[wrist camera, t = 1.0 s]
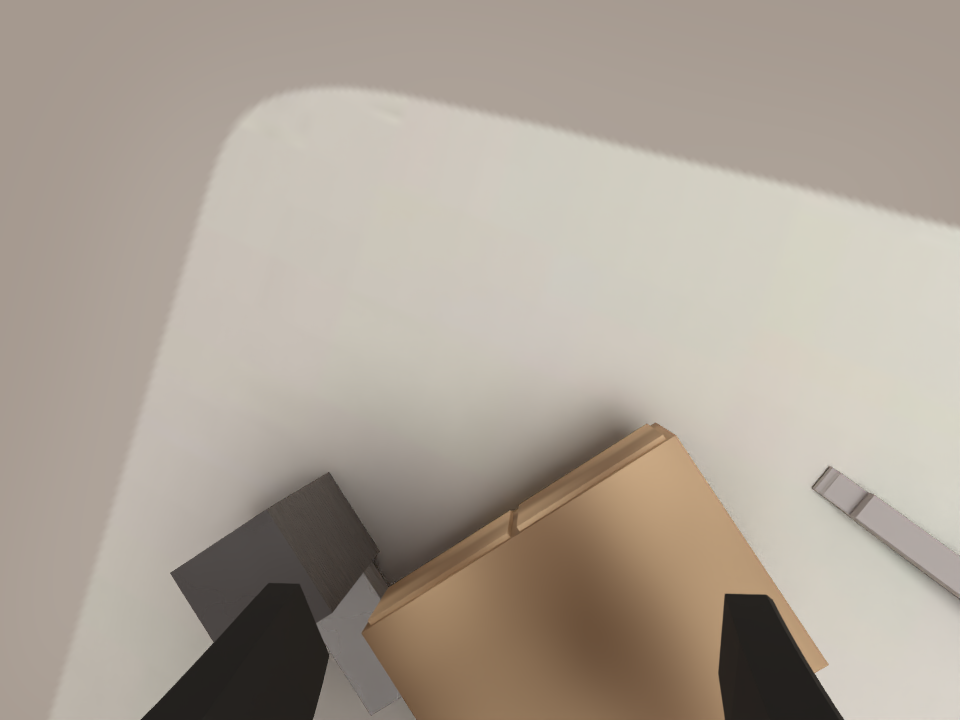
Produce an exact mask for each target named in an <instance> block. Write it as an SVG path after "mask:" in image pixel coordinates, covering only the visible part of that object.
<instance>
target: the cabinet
mask: <svg viewBox="0 0 960 720" xmlns="http://www.w3.org/2000/svg"><path fill="white" fill-rule="evenodd" d="M725 594H765V595H768V596H769V597H770V598H771V599H773V601H774V603H775V605H776V607H777V609H778V611H779V613H780V614H781V616H782V618H783V620H784V622H785V624H786V626H787V627H788V629H789V631H790V633H791V635H792V636H793V638H794V640H795V642H796V643H797V645H798V647H799V648H800V650H801V652H802V654H803V655H804V657H805V659H806V660H807V662H808V664H809V665H810V667H811V669H812V670H813V672H814V673H816V672H818V671H819V670H821V669H823V668H824V667H826V666H828V665H829V664H828V663H827V661H826V660H825V658H824V657H823V655H822V654H821V652H820V651H819V649H818V648H817V646H816V645H815V643H814V642H813V640H812V639H811V637H810V636H809V634H808V633H807V631H806V630H805V628H804V627H803V625H802V624H801V622H800V621H799V619H798V618H797V616H796V615H795V613H794V612H793V610H792V609H791V607H790V606H789V604H788V603H787V601H786V600H785V598H784V597H783V595H782V594H781V592H780V591H779V589H778V588H777V586H776V585H775V583H774V582H773V580H772V579H771V577H770V576H769V574H768V573H767V571H766V570H765V568H764V567H763V565H762V564H761V562H760V561H759V559H758V558H757V556H756V555H755V553H754V552H753V550H752V549H751V547H750V546H749V544H748V543H747V541H746V540H745V538H744V537H743V535H742V534H741V532H740V531H739V529H738V528H737V526H736V525H735V523H734V522H733V520H732V519H731V517H730V516H729V514H728V513H727V511H726V510H725V508H724V507H723V505H722V504H721V502H720V501H719V499H718V498H717V496H716V495H715V493H714V492H713V490H712V489H711V487H710V486H709V484H708V483H707V481H706V480H705V478H704V477H703V475H702V474H701V472H700V471H699V469H698V468H697V466H696V465H695V463H694V462H693V460H692V459H691V457H690V456H689V454H688V453H687V451H686V450H685V448H684V447H683V445H682V444H681V442H680V441H679V439H678V438H677V436H676V435H675V434H673V433H672V432H670V431H668V430H667V429H665V428H663V427H662V426H660V425H659V424H657V423H654V424H652V425H651V426H650V425H648V424H646V425H644V426H642V427H641V428H639V429H638V430H636V431H634V432H633V433H631V434H630V435H628V436H627V437H625V438H623V439H622V440H620V441H619V442H617V443H616V444H614V445H612V446H611V447H609V448H608V449H606V450H605V451H603V452H601V453H600V454H598V455H597V456H595V457H593V458H592V459H590V460H589V461H587V462H586V463H584V464H582V465H581V466H579V467H578V468H576V469H575V470H573V471H571V472H570V473H568V474H567V475H565V476H563V477H562V478H560V479H559V480H557V481H556V482H554V483H552V484H551V485H549V486H548V487H546V488H545V489H543V490H541V491H540V492H538V493H537V494H535V495H534V496H532V497H530V498H529V499H527V500H526V501H524V502H522V503H521V504H519V508H518V510H517V511H515V512H513V513H512V511H511V510H510V511H508V512H507V513H505V514H504V515H502V516H500V517H499V518H497V519H496V520H494V521H493V522H491V523H489V524H488V525H486V526H485V527H483V528H481V529H480V530H478V531H477V532H475V533H474V534H472V535H470V536H469V537H467V538H466V539H464V540H463V541H461V542H459V543H458V544H456V545H455V546H453V547H452V548H450V549H448V550H447V551H445V552H444V553H442V554H440V555H439V556H437V557H436V558H434V559H433V560H431V561H429V562H428V563H426V564H425V565H423V566H422V567H420V568H418V569H417V570H415V571H414V572H412V573H410V574H409V575H407V576H406V577H404V578H403V579H401V580H399V581H398V582H396V583H395V584H393V585H392V586H390V587H388V589H387V590H386V592H385V593H384V595H383V597H382V598H381V600H380V602H379V603H378V605H377V606H376V608H375V610H374V611H373V613H372V615H371V616H370V618H369V619H368V623H367V625H366V626H365V628H364V630H363V631H362V635H363V637H364V638H365V640H366V641H367V643H368V644H369V646H370V648H371V649H372V651H373V652H374V654H375V655H376V657H377V659H378V660H379V662H380V663H381V665H382V666H383V668H384V670H385V671H386V673H387V674H388V676H389V677H390V679H391V680H392V682H393V684H394V685H395V687H396V688H397V690H398V691H399V693H400V695H401V696H402V698H403V699H404V701H405V702H406V704H407V706H408V707H409V709H410V710H411V712H412V713H413V715H414V716H415V718H416V720H725V717H724V710H723V703H722V696H721V689H720V682H719V676H718V669H719V657H720V645H721V633H722V621H723V608H724V596H725Z"/></svg>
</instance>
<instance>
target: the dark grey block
mask: <svg viewBox="0 0 960 720" xmlns="http://www.w3.org/2000/svg"><path fill="white" fill-rule="evenodd" d="M379 552H380V551H379V549H378V548H377V546H376V545H375V543H374V541H373V540H372V538H371V537H370V535H369V534H368V532H367V531H366V529H365V527H364V526H363V524H362V523H361V521H360V520H359V518H358V517H357V515H356V513H355V512H354V510H353V509H352V507H351V506H350V504H349V503H348V501H347V499H346V498H345V496H344V495H343V493H342V492H341V490H340V489H339V487H338V485H337V484H336V482H335V481H334V479H333V478H332V476H331V475H330V473H329V472H328V473H327V474H325V475H323V476H322V477H320V478H318V479H317V480H315V481H313V482H312V483H310V484H308V485H307V486H305V487H303V488H302V489H300V490H298V491H297V492H295V493H293V494H292V495H290V496H288V497H287V498H285V499H283V500H281V501H280V502H278V503H276V504H275V505H273V506H271V507H270V508H268V509H266V510H265V511H263V512H262V513H260V514H259V515H257V516H256V517H254V518H253V519H251V520H250V521H248V522H247V523H245V524H244V525H242V526H241V527H239V528H238V529H236V530H235V531H233V532H232V533H230V534H229V535H227V536H226V537H224V538H222V539H221V540H219V541H218V542H216V543H215V544H213V545H212V546H210V547H209V548H207V549H206V550H204V551H203V552H201V553H200V554H198V555H197V556H195V557H194V558H192V559H191V560H189V561H188V562H186V563H185V564H183V565H182V566H180V567H178V568H177V569H175V570H174V571H172V572H171V573H170V574H171V575H172V577H173V578H174V580H175V582H176V583H177V585H178V586H179V588H180V589H181V591H182V593H183V594H184V596H185V597H186V599H187V601H188V602H189V604H190V605H191V607H192V609H193V610H194V612H195V613H196V615H197V617H198V618H199V620H200V621H201V623H202V624H203V626H204V628H205V629H206V631H207V632H208V634H209V636H210V637H211V639H212V640H213V642H215V641H216V640H217V639H218V637H219V636H220V635H221V634H222V633H223V632H224V631H225V630H226V629H227V628H228V626H229V625H230V624H231V623H232V622H233V621H234V620H235V619H236V618H237V617H238V615H239V614H240V613H241V612H242V611H243V610H244V609H245V608H246V607H247V606H248V604H249V603H250V602H251V601H252V600H253V599H254V598H255V597H256V596H257V595H258V594H259V593H260V592H261V591H262V589H263V588H264V587H265V586H266V585H267V584H268V583H292V584H300V586H301V588H302V591H303V593H304V595H305V598H306V600H307V603H308V605H309V608H310V610H311V612H312V615H313V617H314V620H315V622H316V624H317V627H318V629H319V632H320V634H321V636H322V639H323V641H324V643H325V644H326V646H327V647H328V649H329V651H330V652H331V654H332V655H333V657H334V658H335V660H336V662H337V663H338V665H339V666H340V668H341V669H342V671H343V673H344V674H345V676H346V677H347V679H348V680H349V682H350V684H351V685H352V687H353V688H354V690H355V691H356V693H357V695H358V696H359V698H360V699H361V701H362V702H363V704H364V706H365V707H366V709H367V710H368V712H369V713H370V715H373V714H374V713H376V712H377V711H379V710H381V709H382V708H384V707H386V706H387V705H389V704H390V703H392V702H394V701H395V700H397V699H399V698H400V697H402V696H401V695H400V693H399V691H398V690H397V688H396V687H395V685H394V684H393V682H392V680H391V679H390V677H389V676H388V674H387V673H386V671H385V670H384V668H383V666H382V665H381V663H380V662H379V660H378V659H377V657H376V655H375V654H374V652H373V651H372V649H371V648H370V646H369V644H368V643H367V641H366V640H365V638H364V637H363V635H362V631H363V630H364V628H365V626H366V625H367V623H368V619H369V618H370V616H371V615H372V613H373V611H374V610H375V608H376V606H377V605H378V603H379V602H380V600H381V598H382V597H383V595H384V593H385V592H386V590H387V589H388V585H387V583H386V582H385V580H384V579H383V577H382V576H381V574H380V573H379V571H378V569H377V568H376V566H375V565H374V563H373V562H372V561H373V559H374V558H375V557H376V556H377V554H378V553H379Z"/></svg>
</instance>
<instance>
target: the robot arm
mask: <svg viewBox="0 0 960 720" xmlns="http://www.w3.org/2000/svg"><path fill="white" fill-rule="evenodd" d="M328 659H329V653H328V651H327V648H326V646H325V644H324V641H323V639H322V636H321V634H320V632H319V629H318V627H317V624H316V622H315V620H314V617H313V615H312V612H311V610H310V608H309V605H308V603H307V600H306V598H305V595H304V593H303V591H302V588H301V586H300V584H292V583H268V584H267V585H266V586H265V587H264V588H263V589H262V591H261V592H260V593H259V594H258V595H257V596H256V597H255V598H254V599H253V600H252V601H251V602H250V603H249V604H248V606H247V607H246V608H245V609H244V610H243V611H242V612H241V613H240V614H239V615H238V617H237V618H236V619H235V620H234V621H233V622H232V623H231V624H230V625H229V626H228V628H227V629H226V630H225V631H224V632H223V633H222V634H221V635H220V636H219V637H218V639H217V640H216V641H215V642H214V643H213V644H212V645H211V646H210V647H209V648H208V650H207V651H206V652H205V653H204V654H203V655H202V656H201V657H200V658H199V659H198V660H197V661H196V662H195V664H194V665H193V666H192V667H191V668H190V669H189V670H188V671H187V672H186V673H185V674H184V675H183V676H182V677H181V678H180V680H179V681H178V682H177V683H176V684H175V685H174V686H173V687H172V688H171V689H170V690H169V691H168V692H167V693H166V694H165V696H164V697H163V698H162V699H161V700H160V701H159V702H158V703H157V704H156V705H155V706H154V707H153V708H152V709H151V710H150V711H149V712H148V713H147V714H146V715H145V716H144V717H143V718H142V719H141V720H313V717H314V714H315V710H316V707H317V703H318V699H319V695H320V692H321V688H322V684H323V679H324V675H325V671H326V667H327V663H328ZM718 676H719V682H720V689H721V696H722V703H723V710H724V717H725V720H844V719H843V717H842V716H841V714H840V713H839V711H838V710H837V708H836V707H835V705H834V704H833V702H832V701H831V699H830V697H829V696H828V694H827V693H826V691H825V690H824V688H823V686H822V685H821V683H820V682H819V680H818V678H817V677H816V675H815V673H814V672H813V670H812V669H811V667H810V665H809V664H808V662H807V660H806V659H805V657H804V655H803V654H802V652H801V650H800V648H799V647H798V645H797V643H796V642H795V640H794V638H793V636H792V635H791V633H790V631H789V629H788V627H787V626H786V624H785V622H784V620H783V618H782V616H781V614H780V613H779V611H778V609H777V607H776V605H775V603H774V601H773V599H771V598H770V597H769V596H768V595H765V594H725V596H724V608H723V621H722V633H721V645H720V657H719V669H718Z"/></svg>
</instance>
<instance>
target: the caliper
mask: <svg viewBox="0 0 960 720" xmlns="http://www.w3.org/2000/svg"><path fill="white" fill-rule="evenodd" d="M813 489H814V490H815V491H816V492H818V493H819V494H820V495H822V496H823V497H824V498H826V499H827V500H828V501H830V502H831V503H832V504H834V505H835V506H836V507H838V508H839V509H841V510H842V511H843V512H844V513H845V514H846V515H848V516H849V517H850V518H852V519H853V520H854V521H855V522H857V523H858V524H859V525H861V526H862V527H863V528H865V529H866V530H867V531H869V532H870V533H871V534H873V535H874V536H875V537H877V538H878V539H879V540H880V541H882V542H883V543H885V544H886V545H887V546H889V547H890V548H891V549H893V550H894V551H895V552H897V553H898V554H899V555H901V556H902V557H904V558H905V559H906V560H908V561H909V562H910V563H912V564H913V565H914V566H916V567H917V568H918V569H920V570H921V571H923V572H924V573H925V574H927V575H928V576H929V577H931V578H932V579H933V580H935V581H936V582H937V583H939V584H940V585H941V586H943V587H944V588H946V589H947V590H948V591H950V592H951V593H952V594H954V595H955V596H956V597H958V598H959V599H960V556H959V555H957V554H956V553H955V552H953V551H952V550H951V549H949V548H948V547H946V546H945V545H944V544H942V543H941V542H939V541H938V540H937V539H935V538H934V537H933V536H931V535H930V534H928V533H927V532H926V531H924V530H923V529H921V528H920V527H919V526H917V525H916V524H914V523H913V522H912V521H910V520H909V519H908V518H906V517H905V516H903V515H902V514H901V513H899V512H898V511H896V510H895V509H894V508H892V507H891V506H889V505H888V504H887V503H885V502H884V501H883V500H881V499H880V498H878V497H877V496H876V495H874V494H871V493H868V492H867V491H865V490H864V489H863V488H861V487H860V486H859V485H857V484H856V483H854V482H853V481H852V480H850V479H849V478H847V477H846V476H845V475H843V474H842V473H840V472H838V471H837V470H835V469H834V468H832V467H829V469H828V470H827V471H826V472H825V473H824V475H823V476H822V477H821V478H820V479H819V481H818V482H817V483H816V484H815V486H814V487H813Z"/></svg>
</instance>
